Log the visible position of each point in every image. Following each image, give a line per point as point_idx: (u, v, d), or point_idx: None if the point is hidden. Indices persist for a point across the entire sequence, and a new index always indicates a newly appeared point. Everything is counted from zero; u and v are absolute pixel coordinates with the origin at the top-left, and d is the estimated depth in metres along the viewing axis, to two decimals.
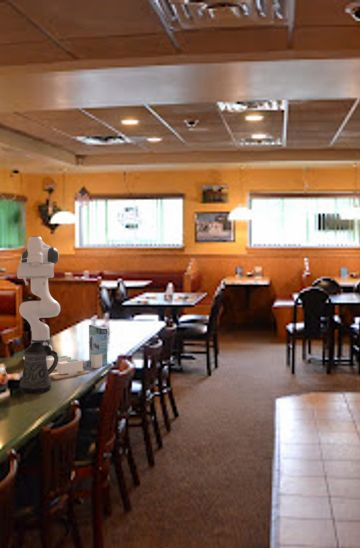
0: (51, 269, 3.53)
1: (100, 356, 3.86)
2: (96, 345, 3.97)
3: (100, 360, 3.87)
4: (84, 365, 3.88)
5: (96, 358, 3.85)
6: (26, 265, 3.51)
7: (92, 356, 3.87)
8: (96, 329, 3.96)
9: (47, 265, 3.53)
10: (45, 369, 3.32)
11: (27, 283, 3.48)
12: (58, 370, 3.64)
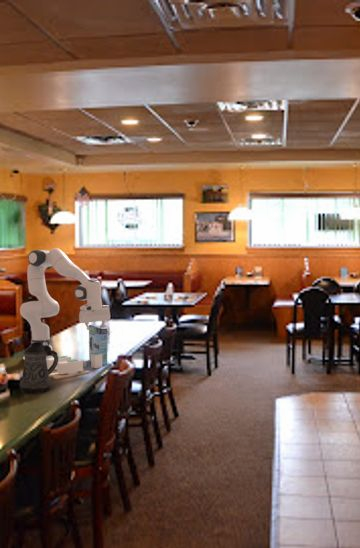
0: (108, 314, 3.88)
1: (100, 356, 3.86)
2: (96, 345, 3.97)
3: (100, 360, 3.87)
4: (84, 365, 3.88)
5: (96, 358, 3.85)
6: (90, 312, 3.79)
7: (92, 356, 3.87)
8: (96, 329, 3.96)
9: (105, 310, 3.87)
10: (45, 369, 3.32)
11: (89, 328, 3.81)
12: (58, 370, 3.64)
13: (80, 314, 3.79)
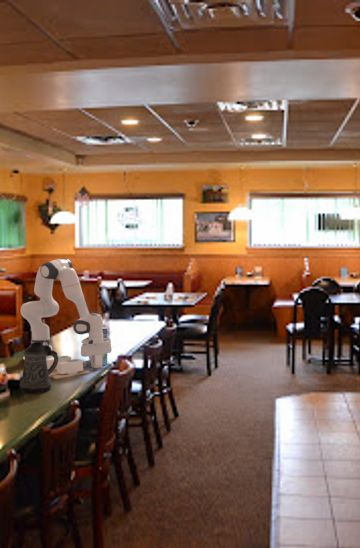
0: (110, 347, 3.91)
1: (100, 356, 3.86)
2: None
3: (100, 360, 3.87)
4: (84, 365, 3.89)
5: (96, 358, 3.85)
6: (91, 345, 3.82)
7: (92, 356, 3.87)
8: None
9: (107, 343, 3.90)
10: (45, 369, 3.32)
11: (93, 361, 3.85)
12: (58, 370, 3.64)
13: (82, 348, 3.82)
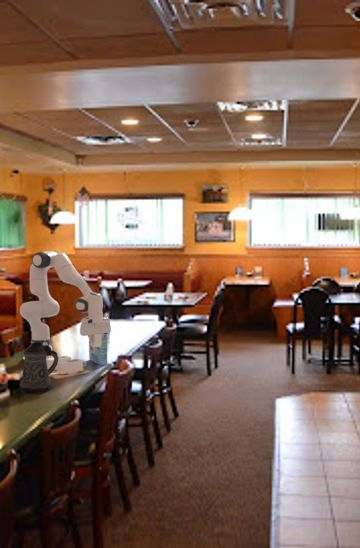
0: (109, 326, 3.91)
1: (99, 335, 3.86)
2: None
3: (99, 339, 3.86)
4: (84, 365, 3.89)
5: (95, 338, 3.84)
6: (91, 325, 3.81)
7: None
8: None
9: (106, 323, 3.89)
10: (45, 369, 3.32)
11: (92, 341, 3.85)
12: (58, 370, 3.64)
13: (81, 327, 3.81)
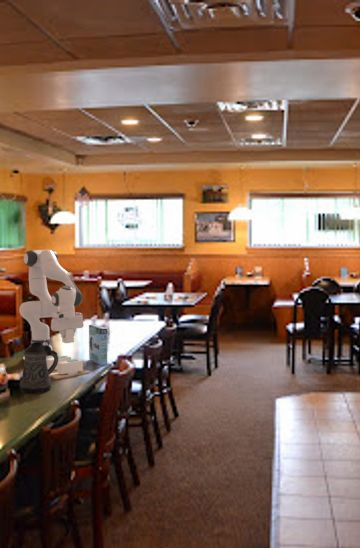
0: (81, 321, 3.77)
1: (71, 331, 3.72)
2: (96, 345, 3.97)
3: (71, 335, 3.72)
4: (84, 365, 3.89)
5: (67, 333, 3.70)
6: (62, 320, 3.67)
7: (63, 331, 3.72)
8: (96, 329, 3.96)
9: (78, 317, 3.75)
10: (45, 369, 3.32)
11: (64, 336, 3.71)
12: (58, 370, 3.64)
13: (52, 322, 3.67)
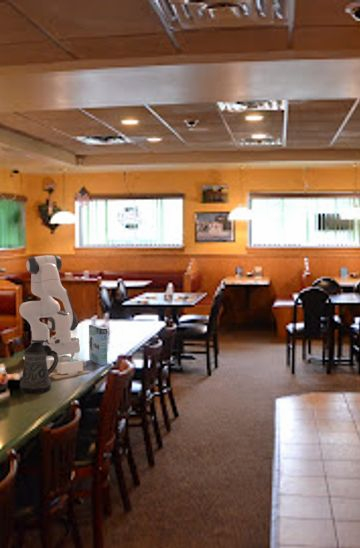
0: (78, 346, 3.76)
1: (68, 358, 3.71)
2: (96, 345, 3.97)
3: None
4: (84, 365, 3.89)
5: None
6: (58, 345, 3.67)
7: (59, 358, 3.71)
8: (96, 329, 3.96)
9: (75, 342, 3.74)
10: (45, 369, 3.32)
11: None
12: (58, 370, 3.64)
13: None
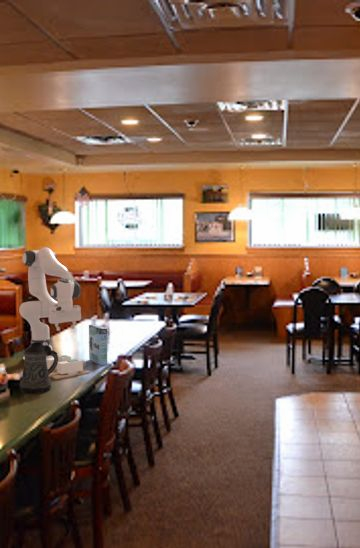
0: (79, 314, 3.77)
1: (68, 358, 3.71)
2: (96, 345, 3.97)
3: None
4: (84, 365, 3.90)
5: None
6: (59, 312, 3.68)
7: (59, 358, 3.71)
8: (96, 329, 3.96)
9: (76, 310, 3.76)
10: (45, 369, 3.32)
11: (59, 329, 3.70)
12: (58, 370, 3.64)
13: (49, 314, 3.67)
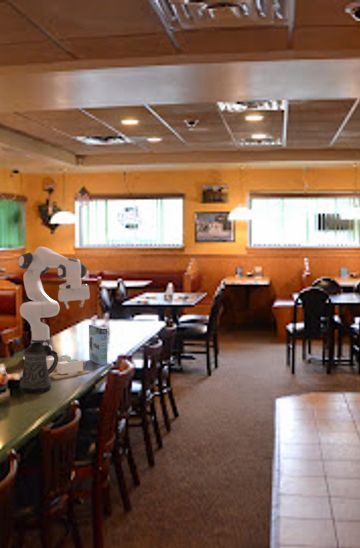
0: (88, 293, 3.86)
1: (68, 358, 3.71)
2: (96, 345, 3.97)
3: None
4: (84, 364, 3.90)
5: None
6: (69, 290, 3.77)
7: (59, 358, 3.71)
8: (96, 329, 3.96)
9: (85, 289, 3.85)
10: (45, 369, 3.32)
11: (69, 307, 3.79)
12: (58, 370, 3.64)
13: (59, 293, 3.77)
